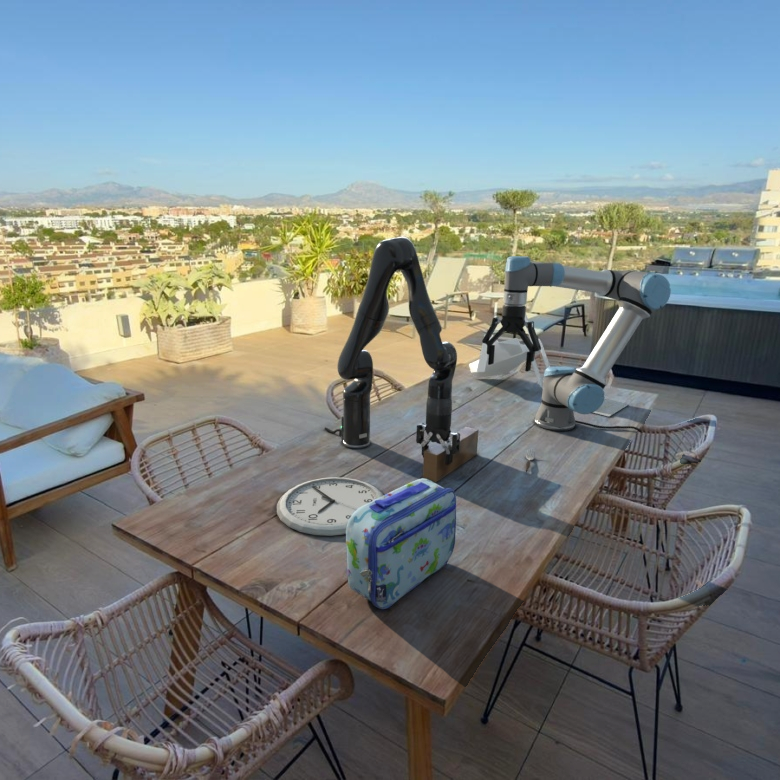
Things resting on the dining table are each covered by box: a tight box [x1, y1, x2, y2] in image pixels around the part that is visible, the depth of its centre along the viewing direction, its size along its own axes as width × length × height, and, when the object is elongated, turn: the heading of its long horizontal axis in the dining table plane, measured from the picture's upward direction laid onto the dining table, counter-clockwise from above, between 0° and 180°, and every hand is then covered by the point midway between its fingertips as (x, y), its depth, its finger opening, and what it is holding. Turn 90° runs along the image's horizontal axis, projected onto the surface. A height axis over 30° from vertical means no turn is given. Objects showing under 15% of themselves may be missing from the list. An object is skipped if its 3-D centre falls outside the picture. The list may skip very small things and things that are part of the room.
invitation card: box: [592, 398, 629, 418], centre depth 226 cm, size 21×1×15 cm
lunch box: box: [345, 477, 457, 610], centre depth 110 cm, size 26×11×21 cm, turn 134°
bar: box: [422, 426, 479, 483], centre depth 167 cm, size 26×5×9 cm, turn 143°
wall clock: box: [276, 476, 385, 537], centre depth 142 cm, size 30×2×30 cm
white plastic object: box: [468, 312, 551, 390], centre depth 257 cm, size 37×45×31 cm
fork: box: [525, 448, 536, 473], centre depth 169 cm, size 3×16×2 cm, turn 160°
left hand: (436, 460), depth 159 cm, fingers open, 7 cm apart
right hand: (508, 367), depth 178 cm, fingers open, 13 cm apart
